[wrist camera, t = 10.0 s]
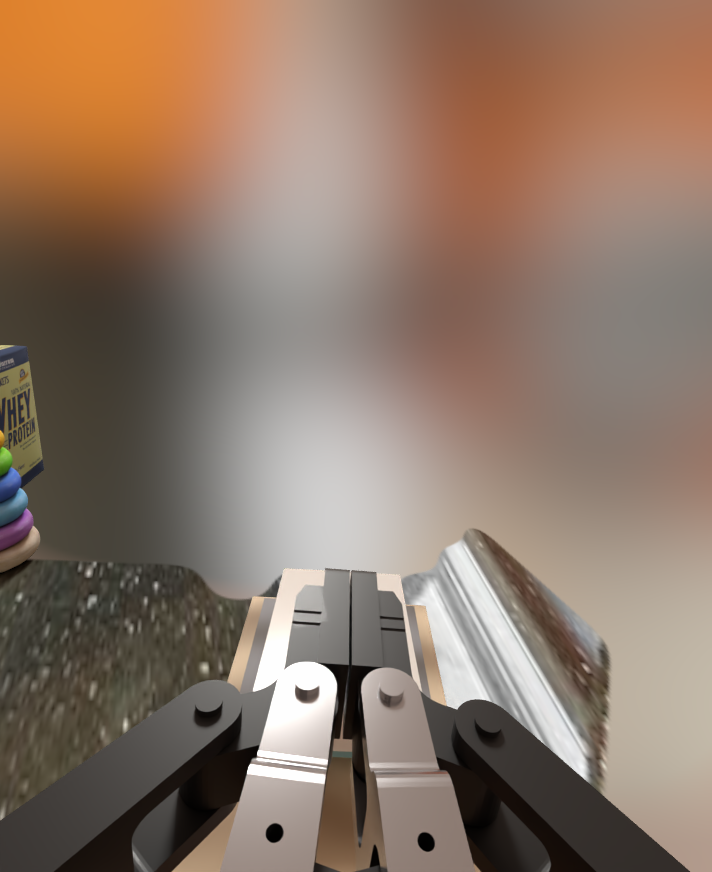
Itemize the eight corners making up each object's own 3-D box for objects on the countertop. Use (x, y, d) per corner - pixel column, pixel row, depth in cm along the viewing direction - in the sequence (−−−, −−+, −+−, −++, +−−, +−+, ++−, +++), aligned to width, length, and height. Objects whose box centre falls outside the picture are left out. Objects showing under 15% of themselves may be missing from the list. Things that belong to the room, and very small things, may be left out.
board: (497, 979, 20) (506, 945, 19) (147, 967, 20) (144, 933, 19) (423, 615, 41) (427, 593, 40) (252, 606, 40) (252, 583, 40)
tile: (426, 716, 25) (399, 574, 39) (248, 708, 25) (284, 568, 39) (420, 764, 26) (396, 608, 40) (247, 756, 26) (282, 602, 39)
